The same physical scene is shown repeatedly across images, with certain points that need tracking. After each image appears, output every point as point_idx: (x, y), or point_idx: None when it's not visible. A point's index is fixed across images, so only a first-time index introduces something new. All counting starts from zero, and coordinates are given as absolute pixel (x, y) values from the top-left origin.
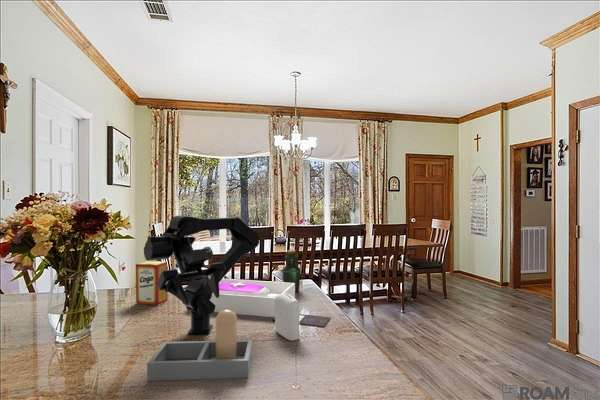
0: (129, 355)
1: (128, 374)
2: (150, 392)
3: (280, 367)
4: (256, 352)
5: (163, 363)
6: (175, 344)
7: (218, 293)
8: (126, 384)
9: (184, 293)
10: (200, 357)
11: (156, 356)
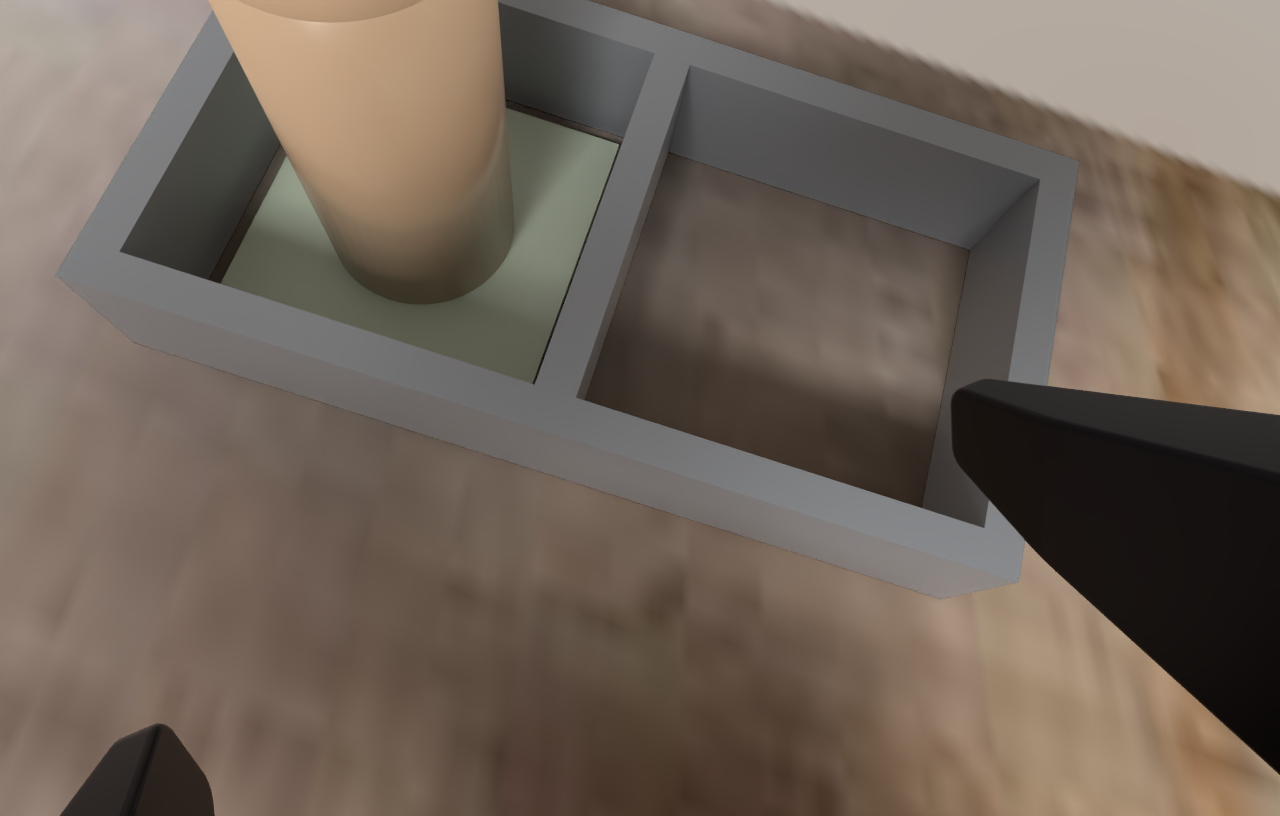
0: (1265, 769)
1: (1158, 381)
2: (955, 90)
3: (11, 46)
4: (71, 378)
5: (950, 122)
6: (887, 499)
7: (102, 786)
8: (1128, 241)
9: (1198, 432)
10: (656, 95)
11: (1030, 256)
